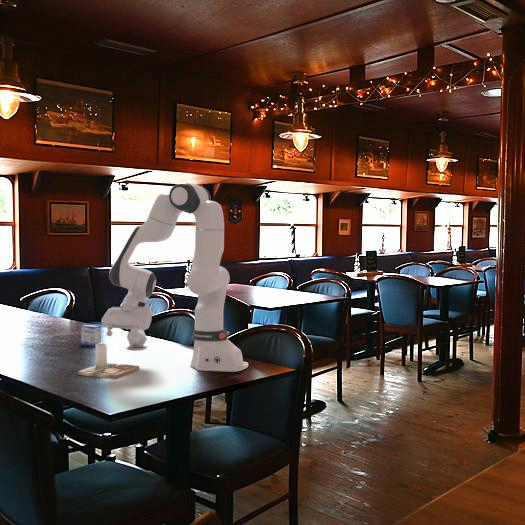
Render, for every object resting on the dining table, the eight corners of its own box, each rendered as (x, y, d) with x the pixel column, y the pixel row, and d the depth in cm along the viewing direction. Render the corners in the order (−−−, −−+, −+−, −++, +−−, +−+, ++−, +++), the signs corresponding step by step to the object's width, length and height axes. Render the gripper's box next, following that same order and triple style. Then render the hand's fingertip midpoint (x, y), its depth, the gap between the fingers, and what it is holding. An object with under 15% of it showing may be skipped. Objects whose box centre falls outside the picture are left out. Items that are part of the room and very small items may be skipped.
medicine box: (81, 344, 286) (80, 325, 286) (87, 342, 290) (87, 324, 290) (95, 345, 283) (95, 326, 283) (101, 344, 287) (101, 325, 287)
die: (137, 350, 276) (149, 332, 279) (121, 340, 277) (133, 322, 280) (140, 353, 284) (152, 335, 287) (124, 343, 285) (136, 326, 288)
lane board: (139, 369, 238) (139, 365, 237) (116, 378, 222) (116, 374, 222) (103, 365, 243) (103, 361, 243) (77, 374, 228) (77, 370, 228)
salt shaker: (108, 366, 235) (108, 342, 234) (102, 368, 231) (102, 343, 231) (99, 365, 236) (99, 341, 236) (93, 367, 232) (93, 343, 232)
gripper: (106, 302, 254) (92, 329, 246) (151, 304, 248) (138, 332, 239) (112, 311, 259) (99, 339, 250) (156, 314, 252) (144, 342, 244)
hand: (119, 335), depth 245 cm, fingers open, 8 cm apart
